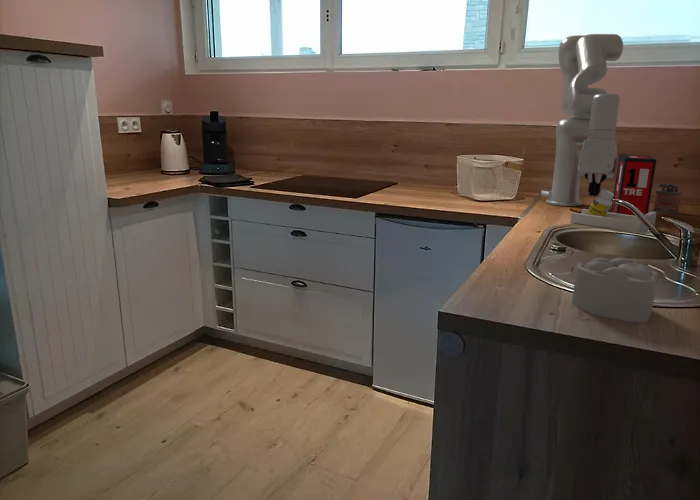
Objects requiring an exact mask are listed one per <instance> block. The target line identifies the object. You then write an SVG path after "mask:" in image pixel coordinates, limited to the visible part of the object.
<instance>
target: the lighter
mask: <svg viewBox="0 0 700 500" xmlns="http://www.w3.org/2000/svg"><path fill="white" fill-rule="evenodd" d="M658 188H662V189H655V195H654V203H653V207H652V212H657V213H658V212H659V213H664V214H665V213H666V214H674V215H675V214H679V208H680V200H681V195H683V193H682V191H679V188H680V186H679V185H675V184H673V183H669V184H667V183H658Z"/></svg>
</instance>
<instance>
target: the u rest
mask: <svg viewBox="0 0 700 500" xmlns="http://www.w3.org/2000/svg"><path fill="white" fill-rule="evenodd" d="M588 209H589V208H588ZM588 209H586V208H582V209H581V213H579V212H571V215H570V221H569V222H570V223H573V224H579V225H585V226H592V227H598V228H605V229H611V230H618V231H624V232H625V231H626V232H631V233H638V234H646V233H648V232H649V231H648V229H647V228H646V226H645V225H644V224H643V223H642V222H641V221H640V220H639V219H638V218H637V217H636V216H633V215H625V214H618V213H612V212H611V211H608V213H607V214H606V216H605V217H602V216H595V215H588V214H586V213H587V211H588ZM657 213H658V212H655V211H648V213H647V214H645V215H644V216H645V217H646V218H647V219H648V220H650V221H651V222H652V223H653V224H654V226H656V225H655V223H656V218H657Z"/></svg>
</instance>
